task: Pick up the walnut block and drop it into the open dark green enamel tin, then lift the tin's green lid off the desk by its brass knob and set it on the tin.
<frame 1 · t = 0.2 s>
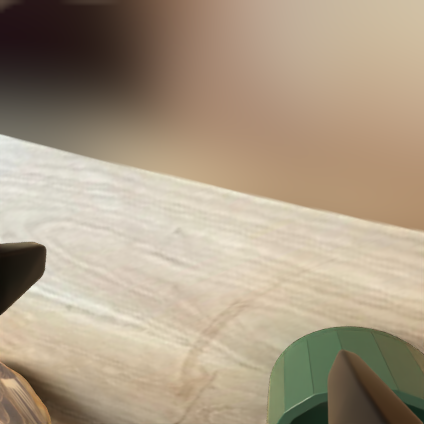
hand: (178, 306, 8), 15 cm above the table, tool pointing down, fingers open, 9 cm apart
decorative bird: (44, 389, 32), on the table, touching arm
tin: (352, 399, 24), on the table
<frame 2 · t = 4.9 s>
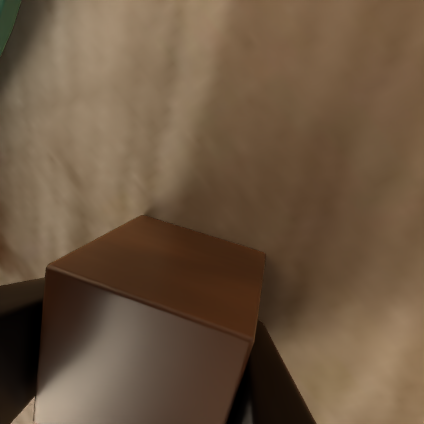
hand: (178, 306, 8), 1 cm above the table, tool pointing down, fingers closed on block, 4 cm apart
block: (188, 289, 9), on the table, touching gripper
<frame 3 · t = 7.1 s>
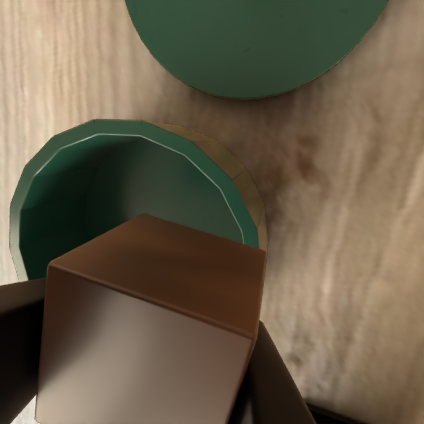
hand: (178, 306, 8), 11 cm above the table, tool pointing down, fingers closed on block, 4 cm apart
tin: (167, 227, 20), on the table
block: (189, 287, 9), point 10 cm above the table, touching gripper
when the fingers open (4 cm above the table, at t = 9.8 s): block drops 2 cm, resting on tin.
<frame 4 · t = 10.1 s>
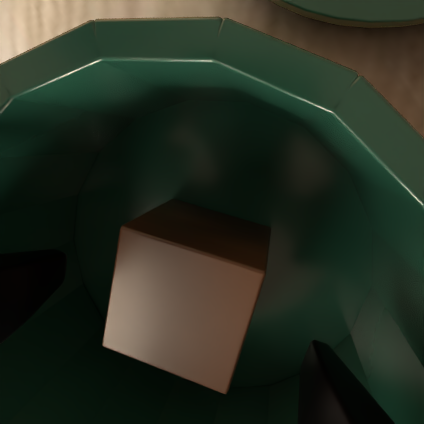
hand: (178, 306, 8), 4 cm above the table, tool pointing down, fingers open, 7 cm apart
tin: (210, 254, 12), on the table
block: (208, 258, 12), resting on tin
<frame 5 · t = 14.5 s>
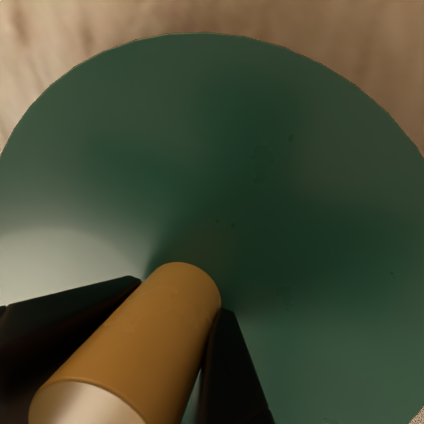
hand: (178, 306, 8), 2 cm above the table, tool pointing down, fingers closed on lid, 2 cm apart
lid: (187, 290, 9), point 1 cm above the table, touching gripper
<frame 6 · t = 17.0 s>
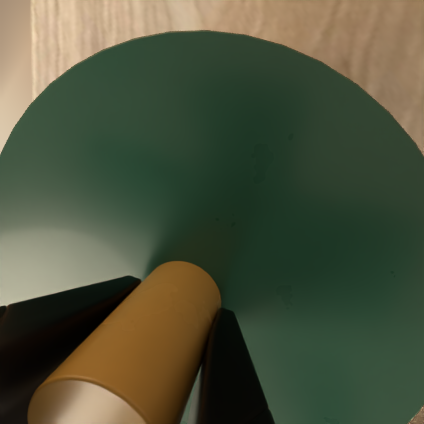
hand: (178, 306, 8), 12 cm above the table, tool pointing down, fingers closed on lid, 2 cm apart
lid: (187, 289, 9), point 11 cm above the table, touching gripper
when the fingers open (7 cm above the table, at t = 19.7 s): lid stays where it is, resting on tin.
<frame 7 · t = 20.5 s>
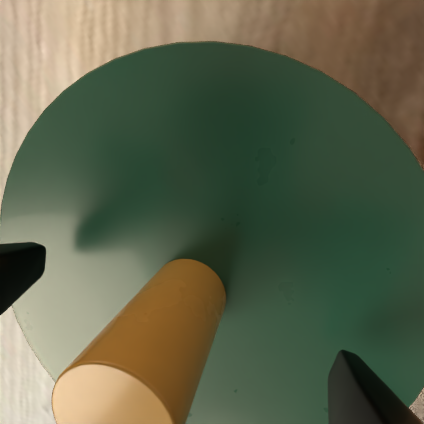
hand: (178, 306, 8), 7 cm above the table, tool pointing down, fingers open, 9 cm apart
lid: (193, 286, 10), point 6 cm above the table, touching tin
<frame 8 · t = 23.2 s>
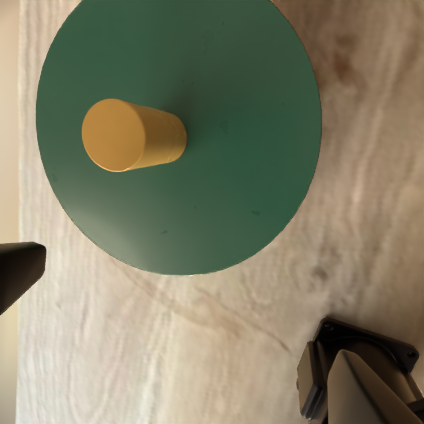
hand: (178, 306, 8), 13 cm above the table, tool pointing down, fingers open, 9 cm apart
lid: (167, 137, 15), point 6 cm above the table, touching tin
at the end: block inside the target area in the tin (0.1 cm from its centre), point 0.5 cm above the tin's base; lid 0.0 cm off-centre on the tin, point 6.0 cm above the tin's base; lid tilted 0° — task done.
